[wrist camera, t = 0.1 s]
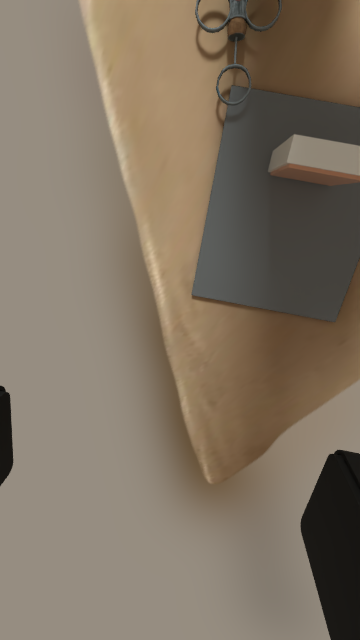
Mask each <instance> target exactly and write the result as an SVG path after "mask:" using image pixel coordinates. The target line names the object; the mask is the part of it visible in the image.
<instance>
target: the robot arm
mask: <svg viewBox="0 0 360 640" xmlns="http://www.w3.org/2000/svg"><path fill="white" fill-rule="evenodd" d="M12 466H13V448H12V426H11V406H10V395H9V393H8V392H6V391H5V388H4V387H3V386H0V486H1V484H2V483H3V482H4V480H5V479H6V478H7V476H8V475H9V473H10V471H11V469H12ZM301 533H302V536H303V540H304V544H305V548H306V551H307V555H308V558H309V562H310V566H311V569H312V573H313V576H314V580H315V583H316V587H317V591H318V595H319V598H320V602H321V605H322V609H323V613H324V617H325V620H326V624H327V628H328V631H329V635H330V638H331V640H360V454H359V453H353V452H349V451H343V450H337V451H336V452H335V453H334V454H330V455H329V456H328V458H327V460H326V462H325V465H324V467H323V469H322V472H321V474H320V476H319V479H318V481H317V483H316V486H315V488H314V490H313V493H312V495H311V498H310V500H309V502H308V504H307V507H306V509H305V511H304V514H303V516H302V519H301Z"/></svg>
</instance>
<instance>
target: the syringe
mask: <svg viewBox="0 0 360 640" xmlns="http://www.w3.org/2000/svg"><path fill="white" fill-rule="evenodd" d="M228 1H229V3H230V12H229V15H228V18H227V19H226V21H225V22H224V23H223V24H222V25H221V26H219V27H217V28H208V27H206V26H205V25H204V24H203V23H202V22H201V20H200V19H199V16H198V5H199V2H200V0H197V3H196V10H195V15H196V18H197V21H198V24H199V25H200V26H201V28H202V29H203V30H205V31H206V32H209V33H215V32H219V31H220V30H222V29H223V28H224V27H225V26H226V25H227V23H228V22H229V26H228V39H229V40H230V41H235V53H234V64H232V65H228V66H227V67H225V68H224V69H223V70H222V71H221V73H220V75H219V77H218V80H217V86H216V90H217V93H218V97H219V98H220V99H221V101H222V102H223V103H225V104H227V105H231V106H234V105H238V104H240V103H241V102H243V101H244V100H245V98H246V97H247V96H248V94H249V91H250V89H251V77H250V75H249V72H248V70H247V69H246V68H245V67H244V66H242V65H239V64H236V53H237V41H240V40H243V39H244V38H245V34H246V24H245V21H246V23H247V24H248V25H249V27H250V28H251V29H253V30H255V31H260V32H261V31H266V30H268V29H269V28H271V27H272V26H273V25H274V23H275V22H276V21H277V19H278V17H279V14H280V12H281V9H282V4H281V0H278V1H279V11H278V14H277V16H276V18H275V19H274V20H273V21H272V22H271V23H270V24H268V25H267V26H263V27H258V26H255V25H254V24H252V23H251V21H250V20H249V18H248V16H247V13H246V5H247V2H248V0H228ZM232 68H238V69H241V70H243V71H244V72H245V73H246V75H247V77H248V79H249V89H248V91H247V94H246V95H245V96H244V97H243V98H242V99H241V100H239V101H238V102H228V101H226V100H225V99H224V98H223V97H222V96H221V94H220V92H219V89H218V85H219V80H220V78H221V76H222V74H223V73H224V72H225V71H227V70H228V69H232Z"/></svg>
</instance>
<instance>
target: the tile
mask: <svg viewBox="0 0 360 640" xmlns="http://www.w3.org/2000/svg"><path fill="white" fill-rule="evenodd" d="M268 172H271V174H270V175H272V176H278V177H283V178H289V179H294V180H300V181H305V182H311V183H316V184H322V185H327V186H334V185H342V184H351V183H359V182H360V146H358V145H352V144H347V143H341V142H335V141H330V140H324V139H318V138H313V137H307V136H302V135H296V134H294V135H293V136H291V137H290V138H289V139H287V140H286V141H285V142H284V143H282V144H281V145H280V146H279V147H277V148H276V149H275V150H273V152H272V156H271V160H270V164H269V168H268Z"/></svg>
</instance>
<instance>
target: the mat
mask: <svg viewBox="0 0 360 640" xmlns="http://www.w3.org/2000/svg"><path fill="white" fill-rule="evenodd" d="M248 89H249V88H246V87H240V86H234V85H232V87H231V92H230V97H229V102H238V101H239V100H241V99H242V98H243V97H244V96H245V95H246V94H247V91H248ZM294 134H296V135H302V136H307V137H313V138H318V139H324V140H330V141H335V142H341V143H347V144H352V145H358V146H360V107H355V106H349V105H343V104H337V103H332V102H326V101H320V100H314V99H309V98H303V97H297V96H292V95H286V94H280V93H274V92H269V91H263V90H257V89H250V91H249V94H248V96H247V97H246V98H245V100H244V101H243V102H241V103H240V104H238V105H234V106H231V105H228V108H227V113H226V118H225V123H224V128H223V134H222V139H221V144H220V149H219V154H218V160H217V165H216V170H215V175H214V181H213V186H212V191H211V196H210V201H209V207H208V212H207V217H206V222H205V227H204V233H203V238H202V243H201V248H200V254H199V259H198V264H197V269H196V274H195V280H194V285H193V290H192V295H194V296H199V297H205V298H210V299H215V300H220V301H226V302H231V303H236V304H242V305H247V306H252V307H257V308H263V309H268V310H273V311H278V312H284V313H289V314H294V315H299V316H305V317H310V318H315V319H320V320H326V321H331V322H335V321H336V319H337V316H338V313H339V311H340V308H341V306H342V303H343V300H344V298H345V295H346V292H347V290H348V287H349V285H350V282H351V279H352V277H353V274H354V271H355V269H356V266H357V263H358V261H359V258H360V182H359V183H351V184H342V185H334V186H327V185H322V184H316V183H311V182H305V181H300V180H294V179H289V178H283V177H278V176H272V175H270V174H271V172H268V168H269V164H270V160H271V156H272V152H273V150H275V149H276V148H277V147H279V146H280V145H281V144H282V143H284V142H285V141H286V140H287V139H289V138H290V137H291V136H293V135H294Z"/></svg>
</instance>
